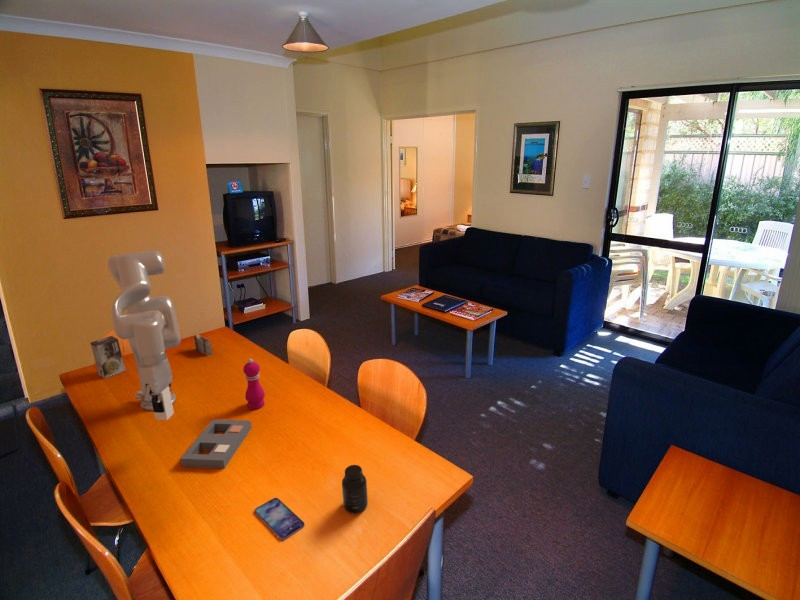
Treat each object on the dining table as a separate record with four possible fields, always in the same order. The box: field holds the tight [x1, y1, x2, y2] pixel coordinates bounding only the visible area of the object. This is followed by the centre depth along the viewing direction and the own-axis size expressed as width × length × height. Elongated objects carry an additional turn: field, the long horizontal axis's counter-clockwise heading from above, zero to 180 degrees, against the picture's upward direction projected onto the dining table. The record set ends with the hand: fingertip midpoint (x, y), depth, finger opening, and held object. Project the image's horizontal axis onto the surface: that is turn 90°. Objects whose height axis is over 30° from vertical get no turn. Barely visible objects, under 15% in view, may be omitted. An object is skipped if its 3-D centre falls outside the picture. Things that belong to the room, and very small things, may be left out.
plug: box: [153, 386, 175, 421], centre depth 149 cm, size 4×4×12 cm
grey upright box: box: [192, 332, 213, 357], centre depth 227 cm, size 11×3×10 cm, turn 49°
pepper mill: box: [242, 358, 266, 410], centre depth 177 cm, size 7×7×20 cm
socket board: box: [180, 418, 252, 469], centre depth 156 cm, size 14×22×3 cm, turn 175°
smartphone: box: [254, 497, 306, 541], centre depth 125 cm, size 7×1×15 cm
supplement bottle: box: [341, 464, 369, 514], centre depth 128 cm, size 7×7×12 cm
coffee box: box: [90, 335, 126, 379], centre depth 206 cm, size 9×6×16 cm
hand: (163, 407), depth 150 cm, fingers closed on plug, 4 cm apart
